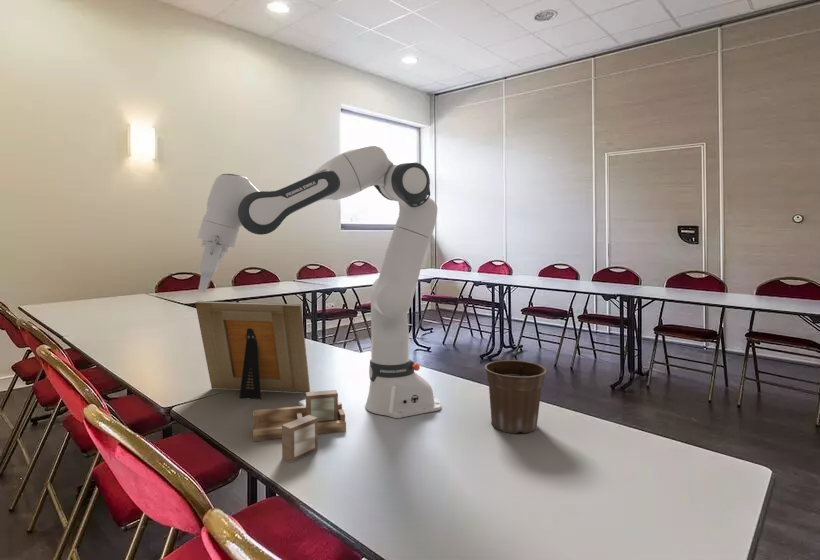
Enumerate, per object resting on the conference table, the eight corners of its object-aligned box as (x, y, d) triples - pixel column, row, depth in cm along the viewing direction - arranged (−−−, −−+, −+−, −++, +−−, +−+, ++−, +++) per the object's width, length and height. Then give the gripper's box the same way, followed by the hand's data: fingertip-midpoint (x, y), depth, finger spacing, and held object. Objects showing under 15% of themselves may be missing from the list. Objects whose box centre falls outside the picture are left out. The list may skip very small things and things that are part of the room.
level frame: (336, 418, 130) (336, 389, 130) (337, 422, 127) (337, 393, 127) (305, 421, 128) (305, 392, 127) (307, 426, 125) (306, 396, 124)
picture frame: (310, 392, 155) (309, 300, 152) (300, 403, 146) (299, 305, 143) (213, 387, 159) (211, 297, 156) (197, 398, 149) (194, 301, 146)
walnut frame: (309, 446, 117) (309, 414, 116) (318, 450, 115) (318, 418, 114) (282, 458, 110) (281, 425, 110) (291, 462, 108) (290, 428, 108)
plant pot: (473, 428, 129) (475, 369, 127) (495, 410, 143) (497, 356, 141) (533, 443, 121) (536, 380, 119) (550, 421, 134) (553, 365, 133)
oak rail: (340, 419, 133) (341, 402, 133) (346, 431, 126) (346, 412, 125) (253, 428, 126) (253, 410, 126) (253, 441, 119) (253, 421, 118)
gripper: (230, 239, 113) (214, 296, 112) (231, 239, 132) (217, 288, 132) (201, 232, 110) (185, 290, 110) (206, 233, 130) (193, 283, 129)
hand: (203, 289), depth 121 cm, fingers open, 8 cm apart
